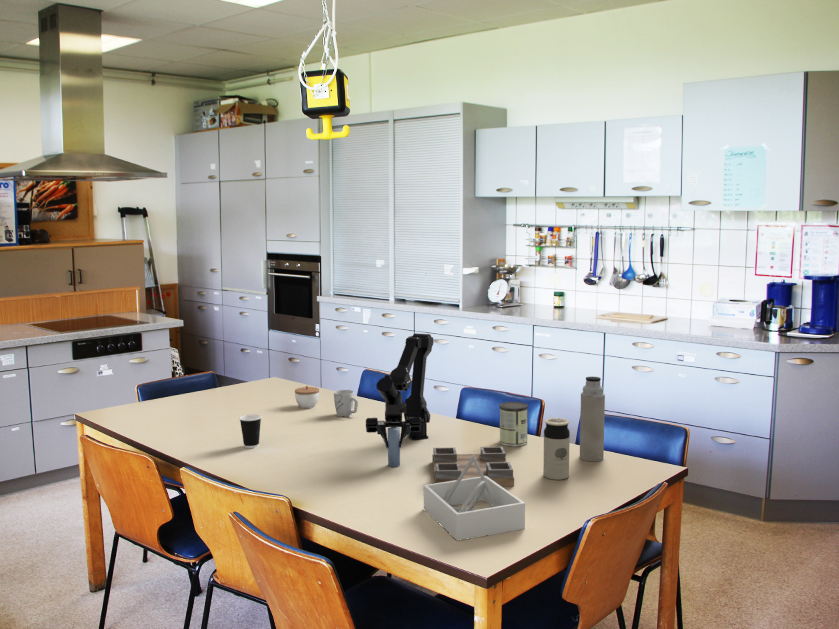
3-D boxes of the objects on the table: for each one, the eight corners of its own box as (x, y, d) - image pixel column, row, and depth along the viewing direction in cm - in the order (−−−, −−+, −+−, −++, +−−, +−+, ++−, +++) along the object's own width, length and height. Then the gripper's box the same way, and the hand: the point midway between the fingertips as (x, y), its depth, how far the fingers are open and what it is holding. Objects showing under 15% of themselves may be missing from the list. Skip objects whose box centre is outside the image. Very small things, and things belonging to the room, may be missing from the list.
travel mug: (541, 471, 233) (542, 417, 231) (566, 471, 233) (567, 417, 231) (545, 480, 225) (546, 424, 223) (570, 480, 225) (571, 424, 223)
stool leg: (397, 462, 243) (397, 426, 242) (401, 466, 240) (401, 429, 238) (386, 464, 242) (385, 427, 240) (390, 467, 238) (389, 431, 237)
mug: (363, 415, 305) (363, 392, 304) (351, 419, 298) (351, 396, 297) (342, 411, 311) (342, 388, 310) (330, 416, 304) (329, 392, 303)
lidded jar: (299, 403, 327) (298, 383, 326) (322, 403, 325) (321, 383, 324) (292, 409, 316) (291, 388, 315) (315, 409, 315) (315, 388, 314)
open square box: (486, 498, 211) (486, 475, 210) (524, 528, 190) (525, 503, 189) (423, 509, 203) (423, 485, 203) (456, 541, 183) (456, 514, 182)
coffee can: (504, 437, 272) (504, 400, 270) (530, 440, 268) (531, 403, 266) (495, 444, 263) (495, 406, 261) (522, 448, 258) (523, 409, 257)
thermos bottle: (581, 453, 252) (582, 374, 249) (604, 455, 249) (606, 375, 246) (578, 460, 244) (579, 379, 241) (602, 462, 242) (604, 380, 238)
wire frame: (473, 552, 187) (425, 515, 192) (485, 541, 200) (439, 507, 205) (510, 495, 185) (460, 459, 190) (519, 488, 198) (473, 454, 203)
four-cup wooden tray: (432, 461, 244) (432, 447, 243) (503, 460, 245) (503, 446, 244) (435, 487, 220) (435, 471, 220) (514, 486, 221) (514, 470, 220)
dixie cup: (265, 447, 262) (264, 417, 261) (244, 451, 258) (243, 421, 256) (257, 442, 268) (256, 413, 267) (237, 445, 264) (236, 416, 263)
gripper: (365, 394, 242) (364, 436, 232) (421, 393, 242) (422, 435, 233) (366, 411, 251) (365, 452, 241) (420, 410, 251) (421, 451, 241)
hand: (393, 447), depth 239 cm, fingers closed on stool leg, 4 cm apart
